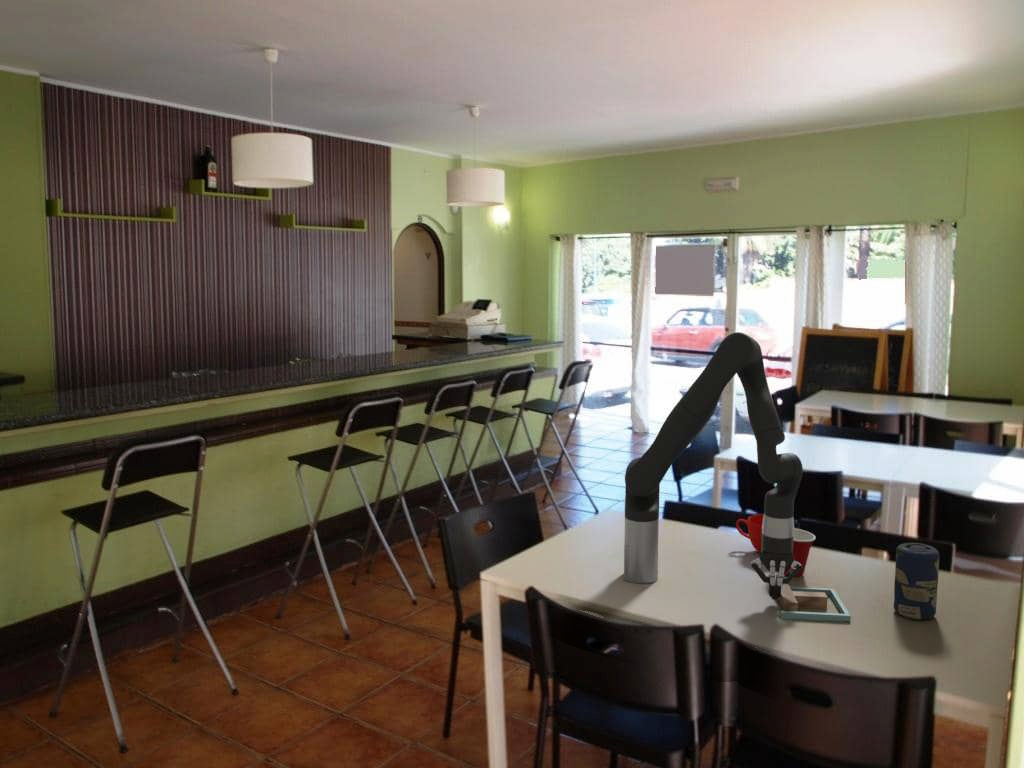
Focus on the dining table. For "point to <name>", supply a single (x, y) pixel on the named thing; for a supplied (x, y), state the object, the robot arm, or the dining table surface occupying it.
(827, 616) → the dock
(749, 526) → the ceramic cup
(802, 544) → the plastic cup
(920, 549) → the canister
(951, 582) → the dining table surface
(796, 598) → the t block
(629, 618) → the dining table surface
